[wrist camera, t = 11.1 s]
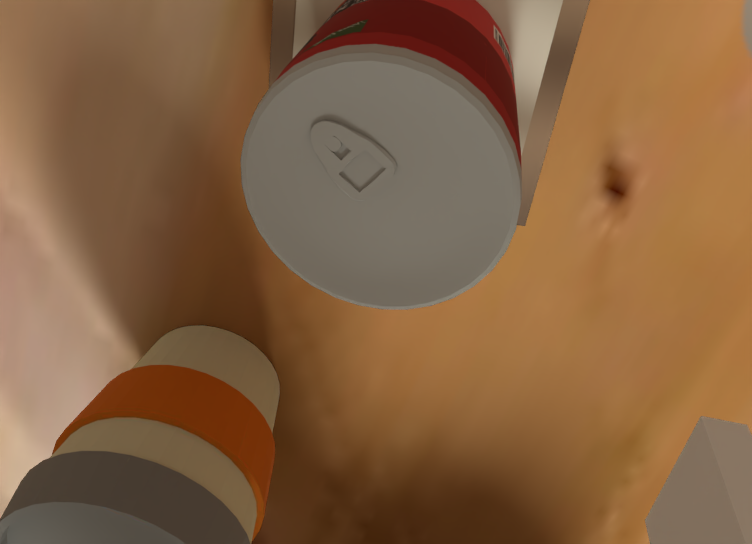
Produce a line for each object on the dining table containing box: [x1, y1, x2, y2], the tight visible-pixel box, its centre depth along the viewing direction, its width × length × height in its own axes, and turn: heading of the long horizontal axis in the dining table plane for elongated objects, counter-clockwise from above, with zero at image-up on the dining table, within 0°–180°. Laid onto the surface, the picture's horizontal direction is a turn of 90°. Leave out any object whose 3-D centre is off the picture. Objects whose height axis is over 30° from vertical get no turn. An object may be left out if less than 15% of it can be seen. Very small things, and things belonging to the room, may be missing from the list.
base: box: [269, 0, 590, 226], centre depth 31 cm, size 12×12×5 cm
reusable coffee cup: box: [0, 325, 280, 544], centre depth 40 cm, size 13×13×15 cm
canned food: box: [241, 0, 522, 310], centre depth 24 cm, size 8×8×11 cm
